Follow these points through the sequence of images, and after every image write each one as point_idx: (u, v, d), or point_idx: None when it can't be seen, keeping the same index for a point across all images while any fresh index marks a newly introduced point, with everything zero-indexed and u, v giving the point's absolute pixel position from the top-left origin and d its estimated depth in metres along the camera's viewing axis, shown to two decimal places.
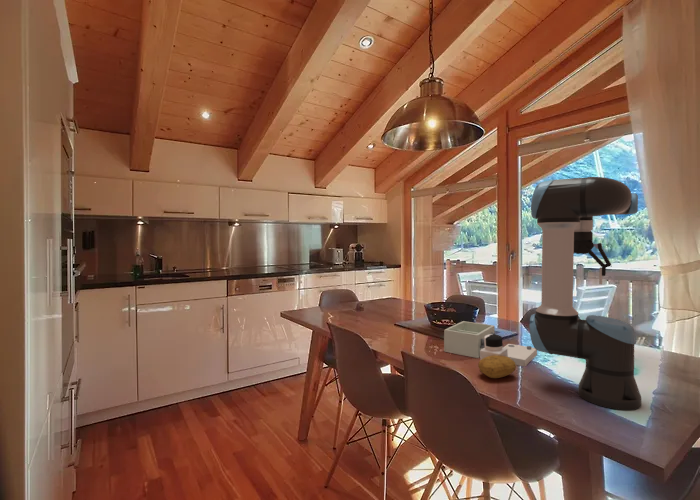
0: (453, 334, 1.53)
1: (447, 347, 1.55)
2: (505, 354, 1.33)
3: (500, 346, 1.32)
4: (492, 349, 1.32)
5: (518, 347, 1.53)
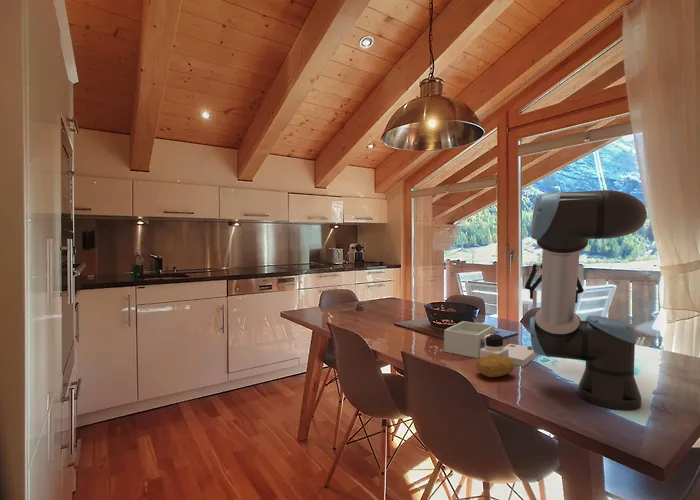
0: (453, 334, 1.53)
1: (447, 347, 1.55)
2: (506, 354, 1.33)
3: (500, 346, 1.32)
4: (492, 349, 1.32)
5: (518, 347, 1.52)
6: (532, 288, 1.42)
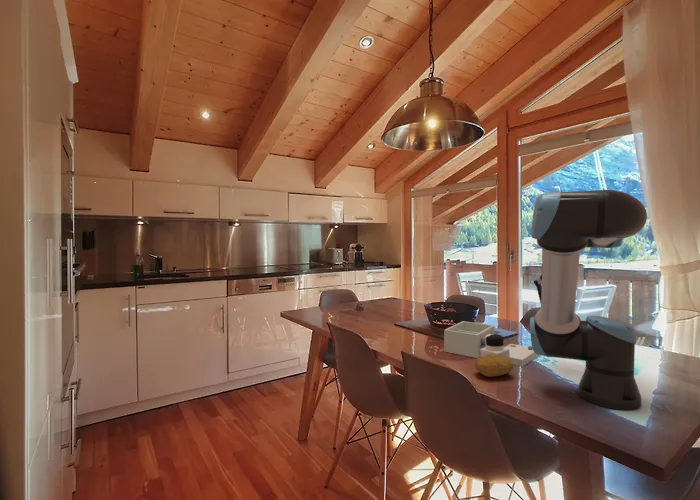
0: (453, 334, 1.53)
1: (447, 347, 1.55)
2: (506, 355, 1.33)
3: (500, 346, 1.32)
4: (491, 348, 1.33)
5: (519, 347, 1.52)
6: None
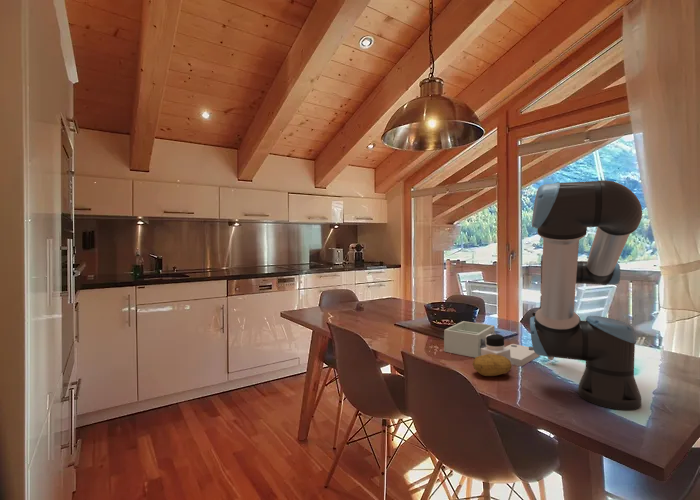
0: (453, 334, 1.53)
1: (447, 347, 1.55)
2: (507, 355, 1.33)
3: (500, 346, 1.32)
4: (491, 348, 1.33)
5: (520, 347, 1.52)
6: None
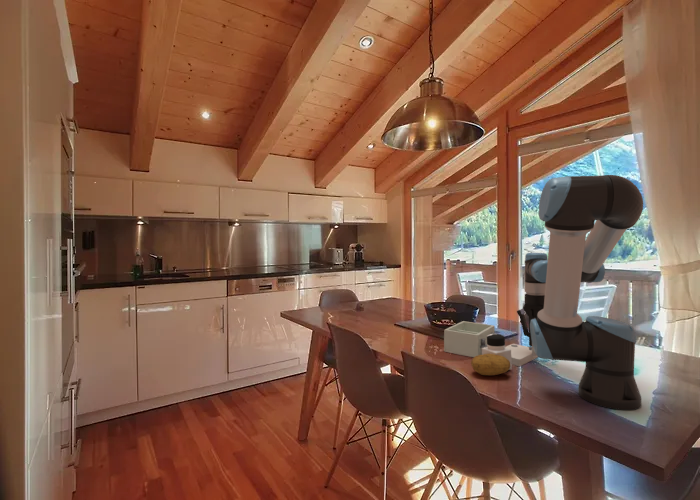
0: (453, 334, 1.53)
1: (447, 347, 1.55)
2: (507, 355, 1.32)
3: (500, 346, 1.32)
4: (491, 348, 1.33)
5: (520, 347, 1.52)
6: (530, 335, 1.43)
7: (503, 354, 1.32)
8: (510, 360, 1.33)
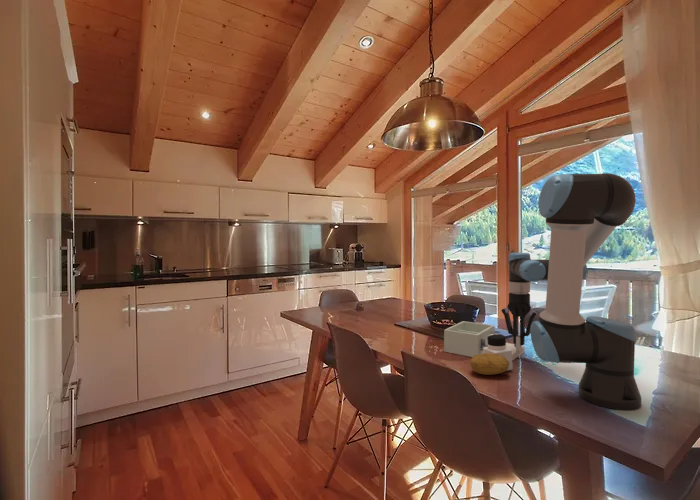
0: (453, 334, 1.53)
1: (447, 347, 1.55)
2: (507, 355, 1.32)
3: (500, 346, 1.32)
4: (491, 348, 1.33)
5: (506, 344, 1.56)
6: (514, 333, 1.47)
7: (503, 354, 1.32)
8: (511, 360, 1.32)
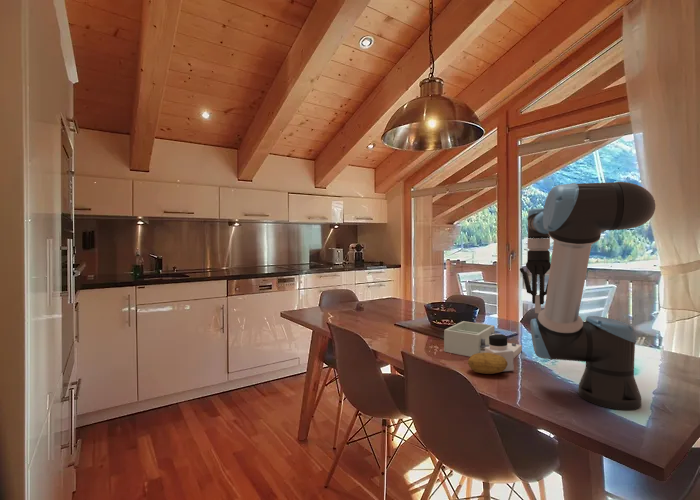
0: (453, 334, 1.53)
1: (447, 347, 1.55)
2: (508, 356, 1.32)
3: (500, 346, 1.32)
4: (492, 347, 1.34)
5: None
6: (534, 292, 1.42)
7: (503, 354, 1.31)
8: (511, 361, 1.32)
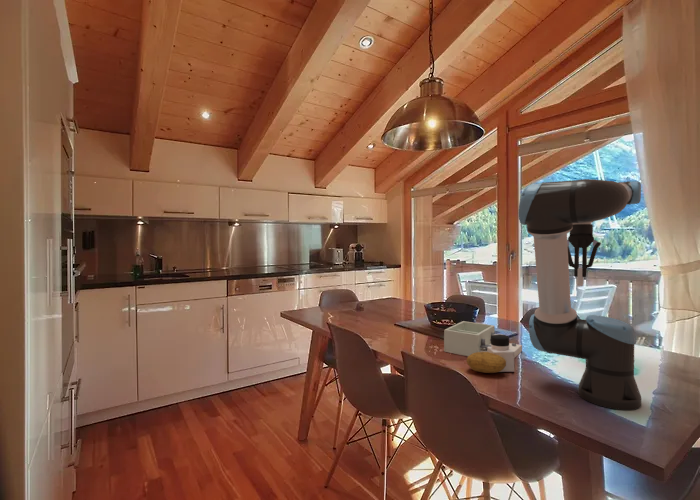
0: (453, 334, 1.53)
1: (447, 347, 1.55)
2: (508, 356, 1.31)
3: (500, 346, 1.32)
4: (493, 347, 1.34)
5: None
6: (576, 265, 1.44)
7: (503, 355, 1.31)
8: (512, 362, 1.31)
